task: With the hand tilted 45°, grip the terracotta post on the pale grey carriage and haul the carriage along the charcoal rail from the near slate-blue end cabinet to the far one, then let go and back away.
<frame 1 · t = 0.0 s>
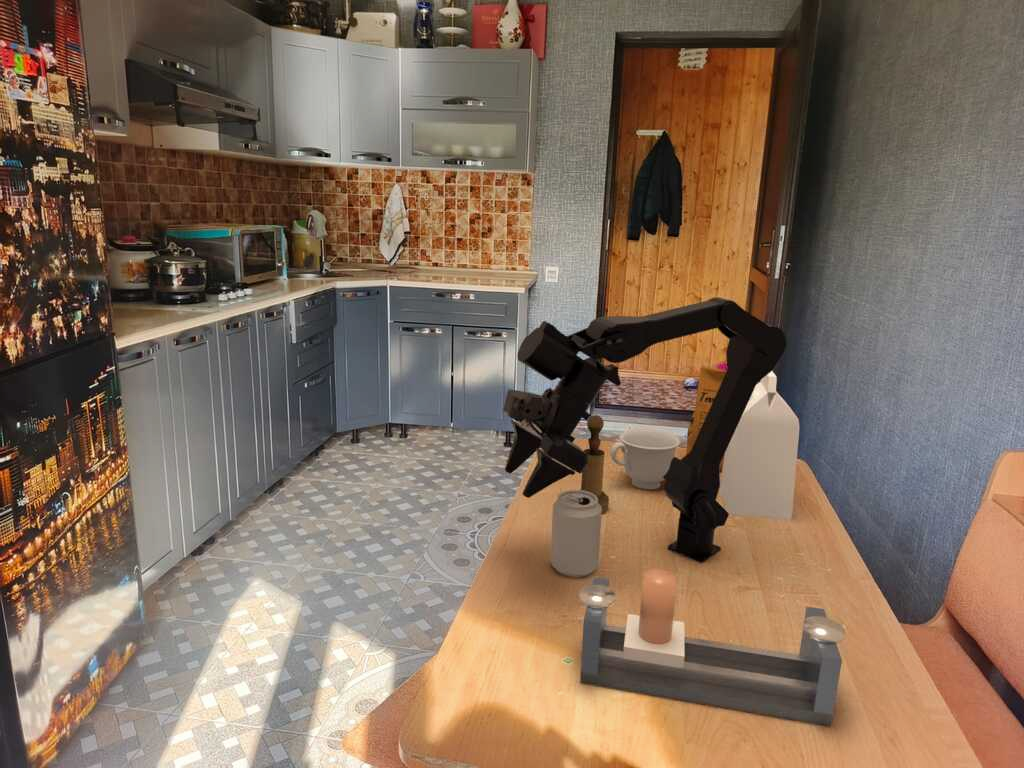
hand: (515, 483, 103), 15 cm above the table, tool tilted 35°, fingers open, 9 cm apart
milk: (753, 504, 134), on the table
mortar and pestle: (590, 508, 131), on the table
teacup: (640, 486, 142), on the table
rail: (699, 675, 85), on the table
carriage: (656, 612, 84), point 8 cm above the table, slide at 0.0 cm
can: (573, 568, 110), on the table
coffee package: (713, 464, 154), on the table
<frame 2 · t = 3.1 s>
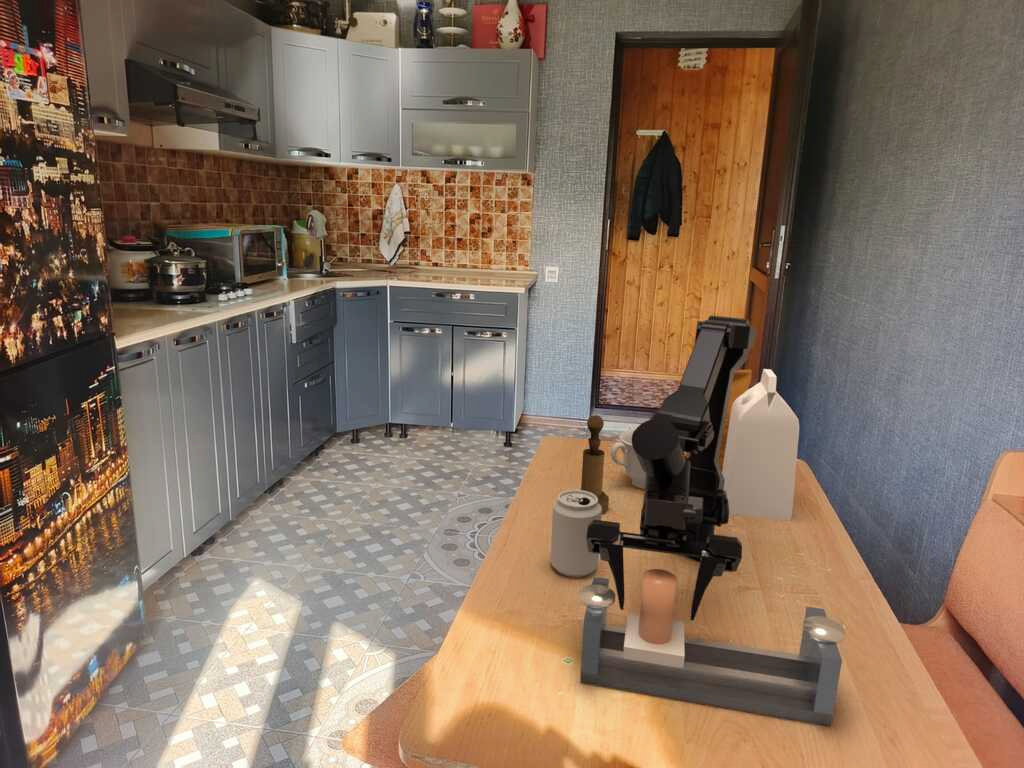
hand: (656, 614, 84), 8 cm above the table, tool tilted 45°, fingers open, 8 cm apart
nothing on the table moved.
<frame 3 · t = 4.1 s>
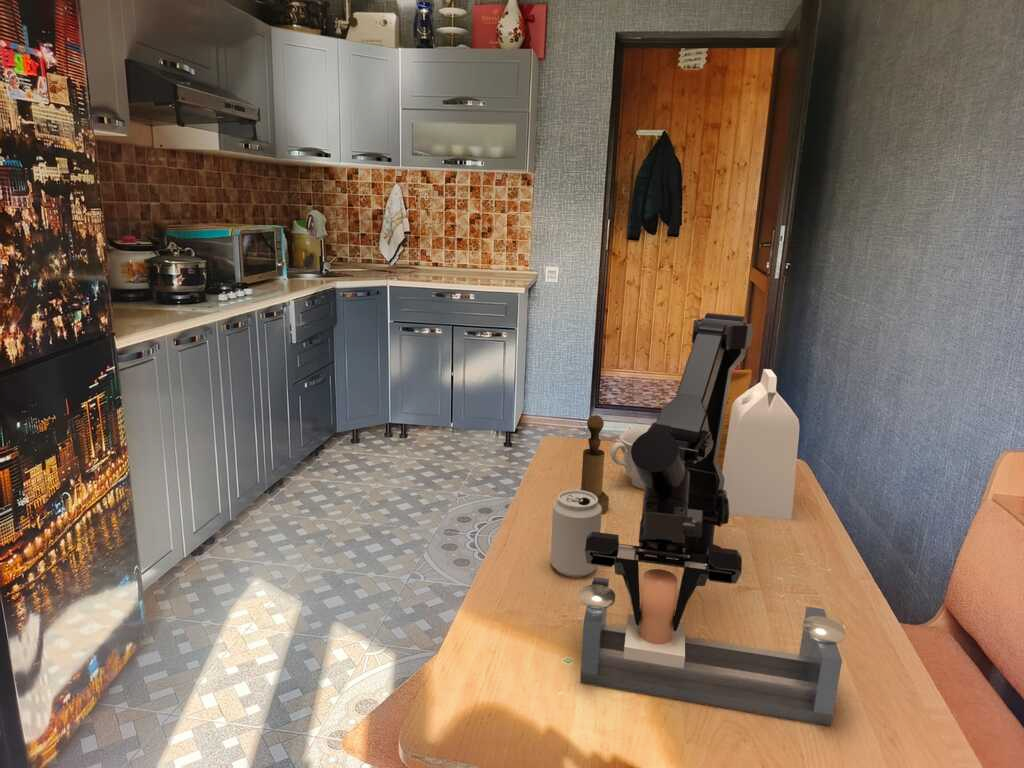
hand: (656, 627, 83), 7 cm above the table, tool tilted 45°, fingers closed on carriage, 4 cm apart
carriage: (657, 612, 84), point 8 cm above the table, slide at 0.0 cm, touching gripper
everything else where it was.
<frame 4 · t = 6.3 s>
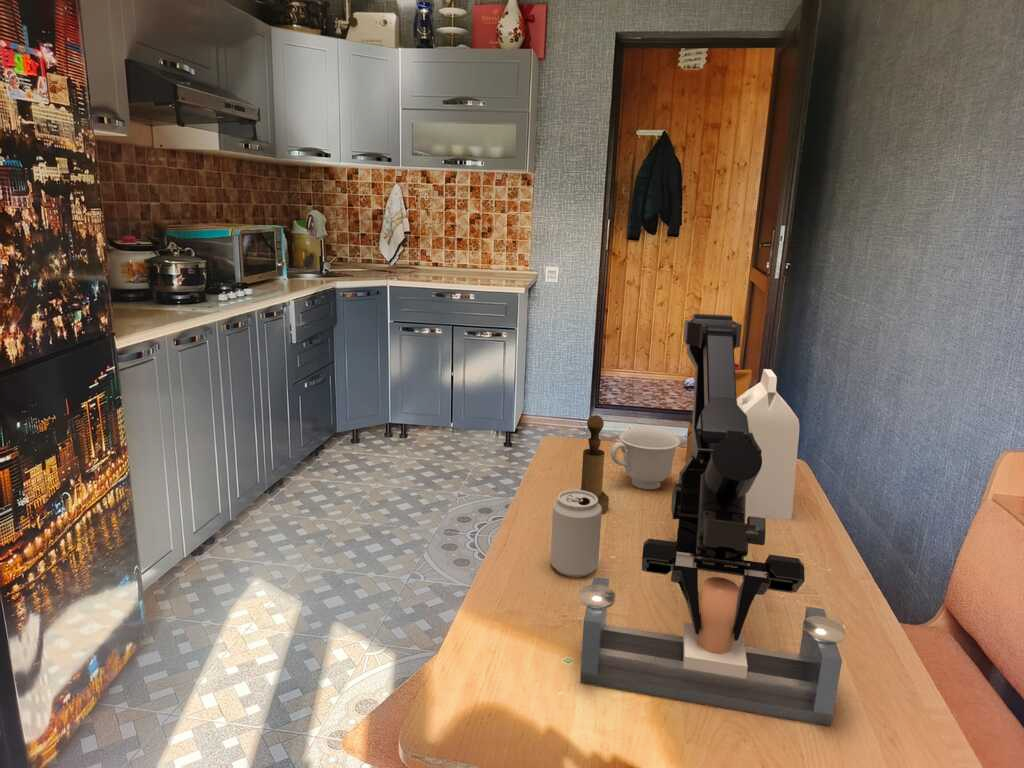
hand: (716, 637, 82), 7 cm above the table, tool tilted 45°, fingers closed on carriage, 4 cm apart
carriage: (716, 621, 83), point 8 cm above the table, slide at 7.0 cm, touching gripper
everything else where it was.
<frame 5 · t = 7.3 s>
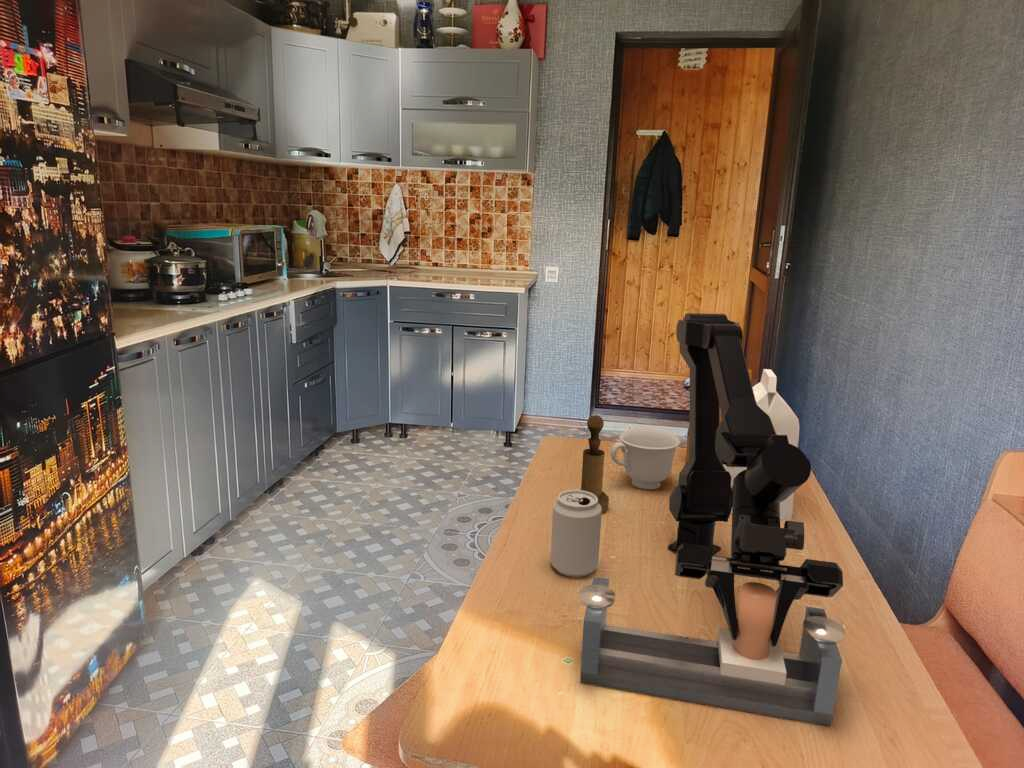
hand: (754, 642, 81), 7 cm above the table, tool tilted 45°, fingers closed on carriage, 4 cm apart
carriage: (754, 626, 82), point 8 cm above the table, slide at 11.2 cm, touching gripper
everything else where it was.
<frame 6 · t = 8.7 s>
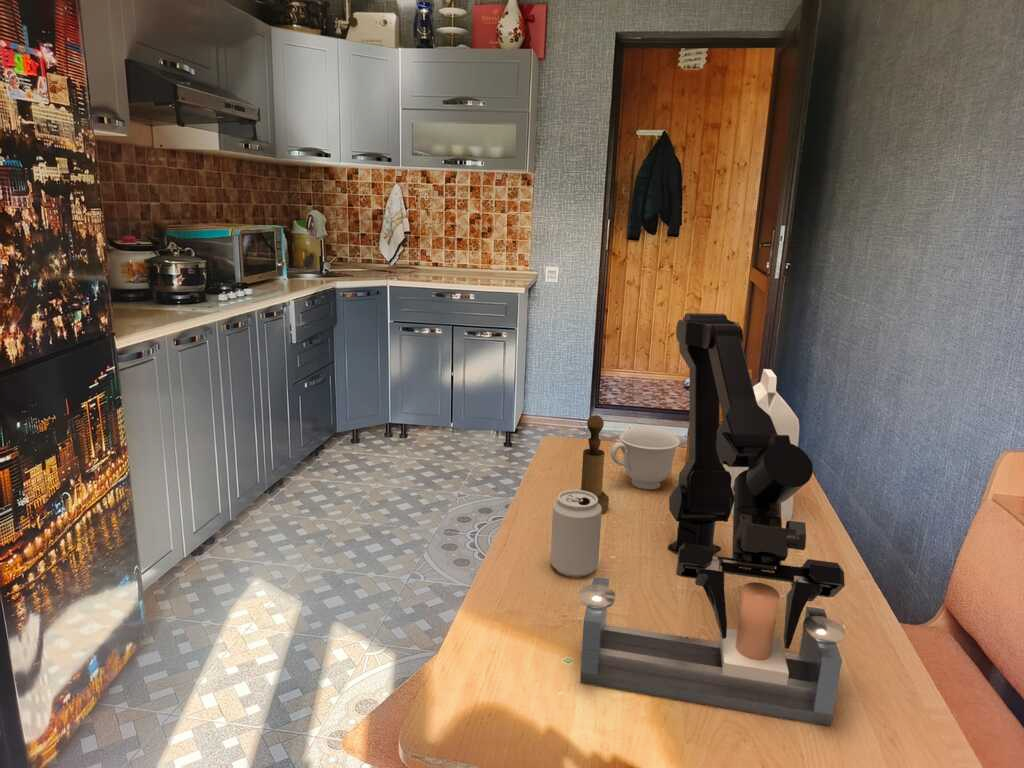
hand: (755, 643, 81), 7 cm above the table, tool tilted 45°, fingers open, 7 cm apart
carriage: (756, 626, 82), point 8 cm above the table, slide at 11.5 cm
everything else where it was.
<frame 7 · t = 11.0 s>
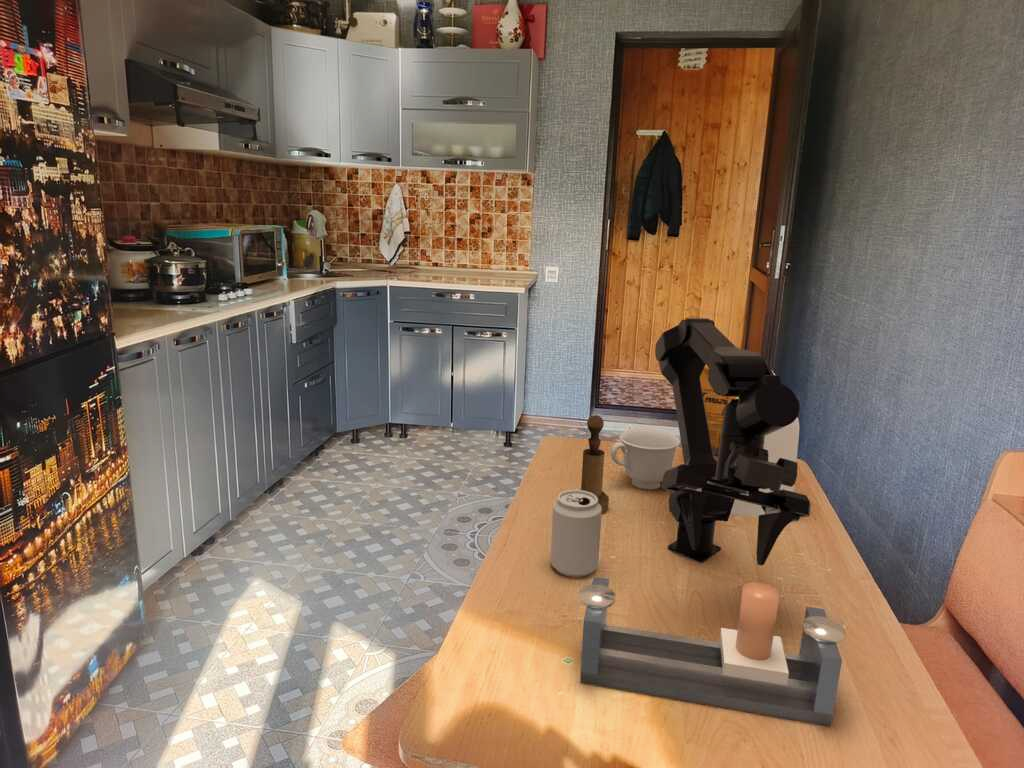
hand: (727, 557, 91), 11 cm above the table, tool tilted 35°, fingers open, 9 cm apart
nothing on the table moved.
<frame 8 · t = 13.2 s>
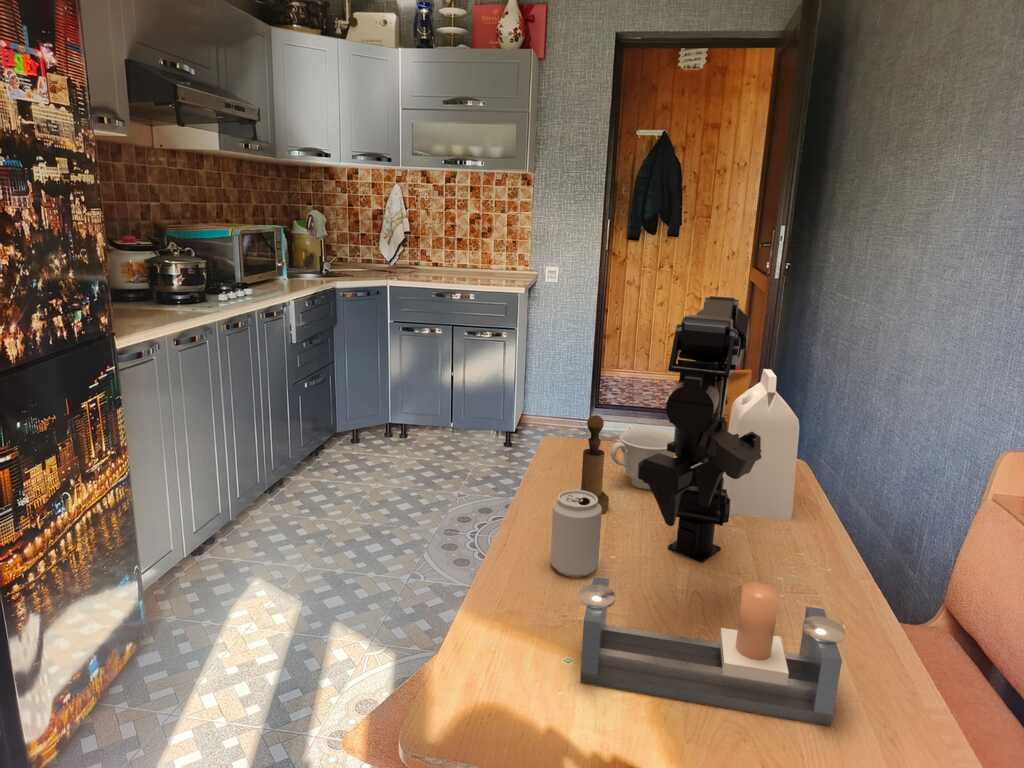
hand: (687, 515, 99), 13 cm above the table, tool pointing down, fingers open, 9 cm apart
nothing on the table moved.
at the end: carriage slide at 11.5 cm; the gripper is holding nothing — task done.
